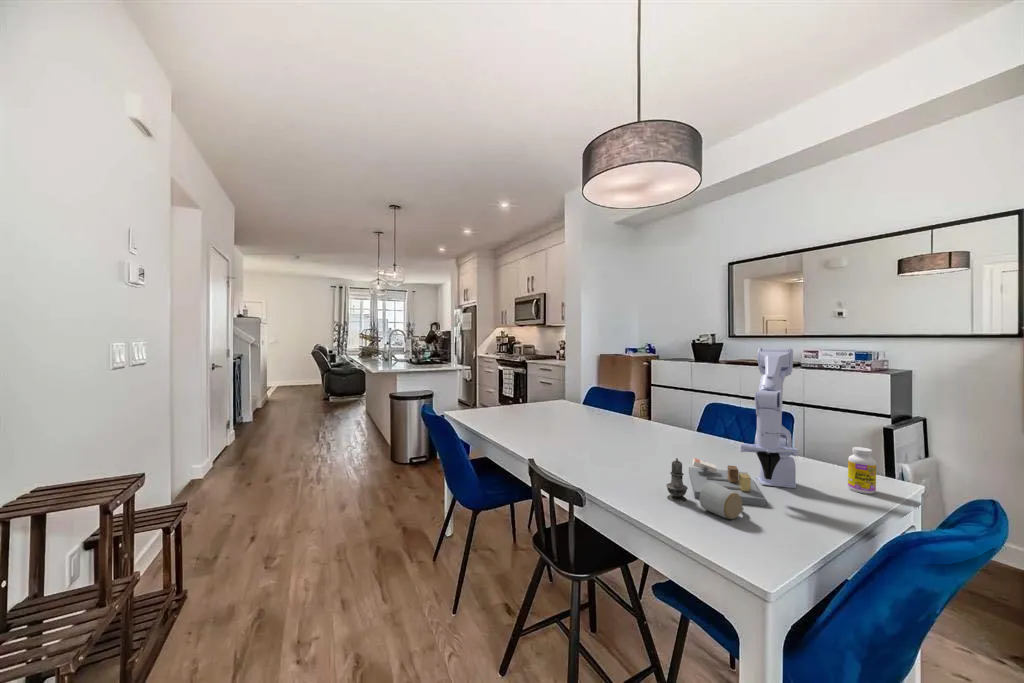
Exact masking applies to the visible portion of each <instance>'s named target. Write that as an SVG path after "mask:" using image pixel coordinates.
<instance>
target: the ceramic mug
mask: <svg viewBox="0 0 1024 683" xmlns="http://www.w3.org/2000/svg"><path fill="white" fill-rule="evenodd" d="M699 503H700V506H701V507H702V509H704V510H706V511H708V512H711V513H712V514H715V515H718V516H720V517H722V518H724V519H727V520H734V519H736V518H738V516H739V515H740V514H742V513H743V512H744V506H743V504H742V499H741V497H740V496H739V495H738V494H737V493H735V492H734V491H732V490H730V489H727V488H725V487H723V486H721V485H719V484H717V483H714V482H708V483H706V484H705V485H704V486H703V488H702V490H701V492H700V499H699Z"/></svg>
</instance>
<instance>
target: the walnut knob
mask: <svg viewBox="0 0 1024 683" xmlns="http://www.w3.org/2000/svg"><path fill="white" fill-rule="evenodd" d="M727 471H728V480H729V482H734V483H738V472H739V468H738V467H737V466H736V465H727Z"/></svg>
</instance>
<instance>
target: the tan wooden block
mask: <svg viewBox="0 0 1024 683" xmlns="http://www.w3.org/2000/svg"><path fill="white" fill-rule="evenodd" d="M748 474H749V473H748ZM748 474H745V473H739V488H740V489H741V491H748V492H751V479H752V478H750V477H751V475H750V474H749V475H748Z"/></svg>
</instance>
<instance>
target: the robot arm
mask: <svg viewBox="0 0 1024 683" xmlns="http://www.w3.org/2000/svg"><path fill="white" fill-rule="evenodd" d="M756 359H757V364H758V370H759V373H760V374H762V375H761V377H760V380H759V386H758V391H755V394H754V406H755V416H756V431H755V438H754V443H750V444H749V443H744V444H743V443H738V444H739V445H738V446H739V452H740V453H755V454H756V455H757V458H758V460H759V475H756V477H755V478H756V479H757V480H758V482H759V483H760V484H761V485H762V486H769V487H780V488H790V489H797V485H796V476H797V475H796V474H797V473H796V472H797V471H796V462H795V461H796V460H795V459H794V457H799V449H798V448H796V447H792V434H791V431H790V430H789V429H787V428H786V427H785V426H784V425H783V424H782V422H783V421H782V419H783V418H782V416H783V415H782V414H783V396H784V394H783V392H784V390H783V389H784V382H785V379H786V377H788V376H791V375H792V372H793V366H794V350H793V349H792V348H791V347H789V348H788V347H787V348H784V347H783V348H782V347H781V348H780V347H759V348H758V349H757V358H756Z"/></svg>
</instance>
